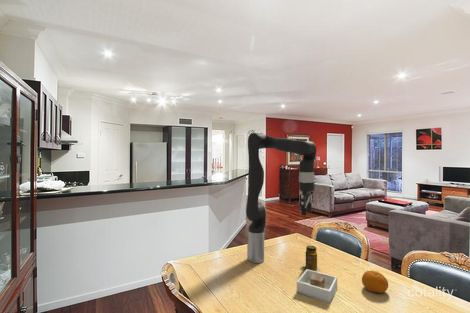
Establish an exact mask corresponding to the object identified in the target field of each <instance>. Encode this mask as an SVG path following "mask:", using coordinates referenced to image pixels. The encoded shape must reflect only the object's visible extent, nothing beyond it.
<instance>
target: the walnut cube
mask: <svg viewBox="0 0 470 313" xmlns="http://www.w3.org/2000/svg"><path fill="white" fill-rule="evenodd" d="M310 285H313V286H317V287H320V288H323V289H324V277H323V276H319V275H315V274H313V275H312V277H311V278H310Z"/></svg>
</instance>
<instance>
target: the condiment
mask: <svg viewBox="0 0 470 313" xmlns="http://www.w3.org/2000/svg"><path fill="white" fill-rule="evenodd" d="M305 248H306V250H305V266H304V265H303V266H302V267H299V269H300V270H302V271H304V272H305V271H306V269H308V270H312V271H316V272H320V270H321V268H318V252H317V247H316V246H314V245H306V247H305Z"/></svg>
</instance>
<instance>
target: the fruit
mask: <svg viewBox="0 0 470 313" xmlns="http://www.w3.org/2000/svg"><path fill="white" fill-rule="evenodd" d="M361 277H362V278H361V283H362V285H363V287H364V288H365V289H366V290H368V291H369V292H372V293H377V294H378V293H379V294H380V293H381V294H382V293H384V292H386V291H387V290H388V288H389V281H388V279H387V277H386V276H385V275H383V274H382V273H381V272H379V271H376V270H366V271H365V272H364V273H363V274H362V276H361Z"/></svg>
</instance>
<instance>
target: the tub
mask: <svg viewBox="0 0 470 313" xmlns="http://www.w3.org/2000/svg"><path fill="white" fill-rule="evenodd" d="M313 274H315V275H319V276H323V277H324V289H323V288H320V287H317V286H313V285H310V278H311V277H312V275H313ZM337 290H338V276H334V275H331V274H327V273H323V272H320V271H312V270H308V269H306V271H304V272H303V273H302V274H301V275H300V277H299V278H298V280H297V281H296V293H297V294H300V295H303V296H306V297H310V298H313V299H316V300H319V301H322V302H325V303H328V304H331V303H332V300H333V298H334V296H335V294H336V292H337Z"/></svg>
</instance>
